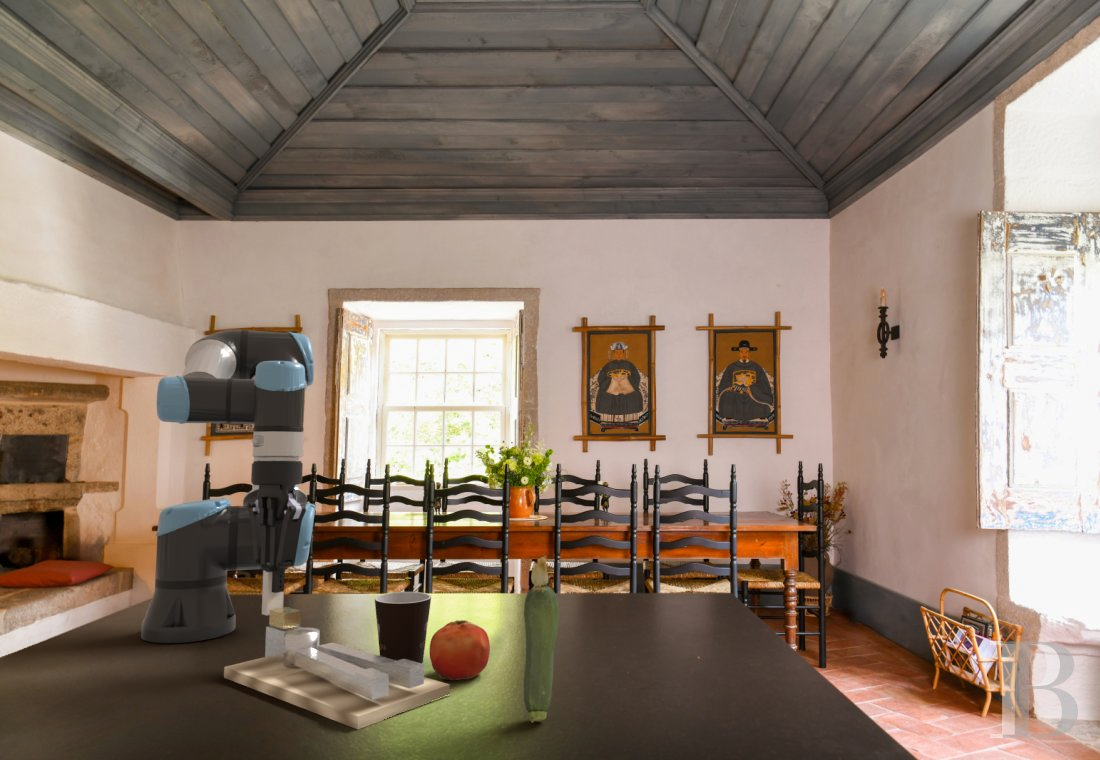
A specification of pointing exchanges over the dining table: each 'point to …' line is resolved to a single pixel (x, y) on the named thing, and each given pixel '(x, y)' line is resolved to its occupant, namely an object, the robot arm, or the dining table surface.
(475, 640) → the tomato
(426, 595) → the coffee mug
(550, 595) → the vegetable
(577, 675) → the dining table surface
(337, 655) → the base
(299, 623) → the tab
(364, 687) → the tong arm
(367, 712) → the board
